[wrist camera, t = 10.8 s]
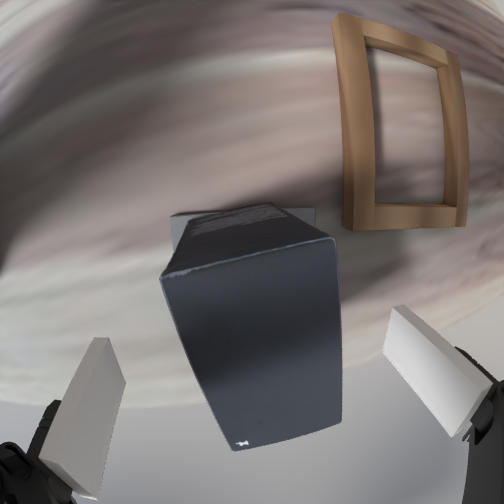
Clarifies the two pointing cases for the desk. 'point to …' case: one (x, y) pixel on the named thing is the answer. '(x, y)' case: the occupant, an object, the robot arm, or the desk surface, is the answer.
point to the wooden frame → (362, 129)
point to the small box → (260, 322)
